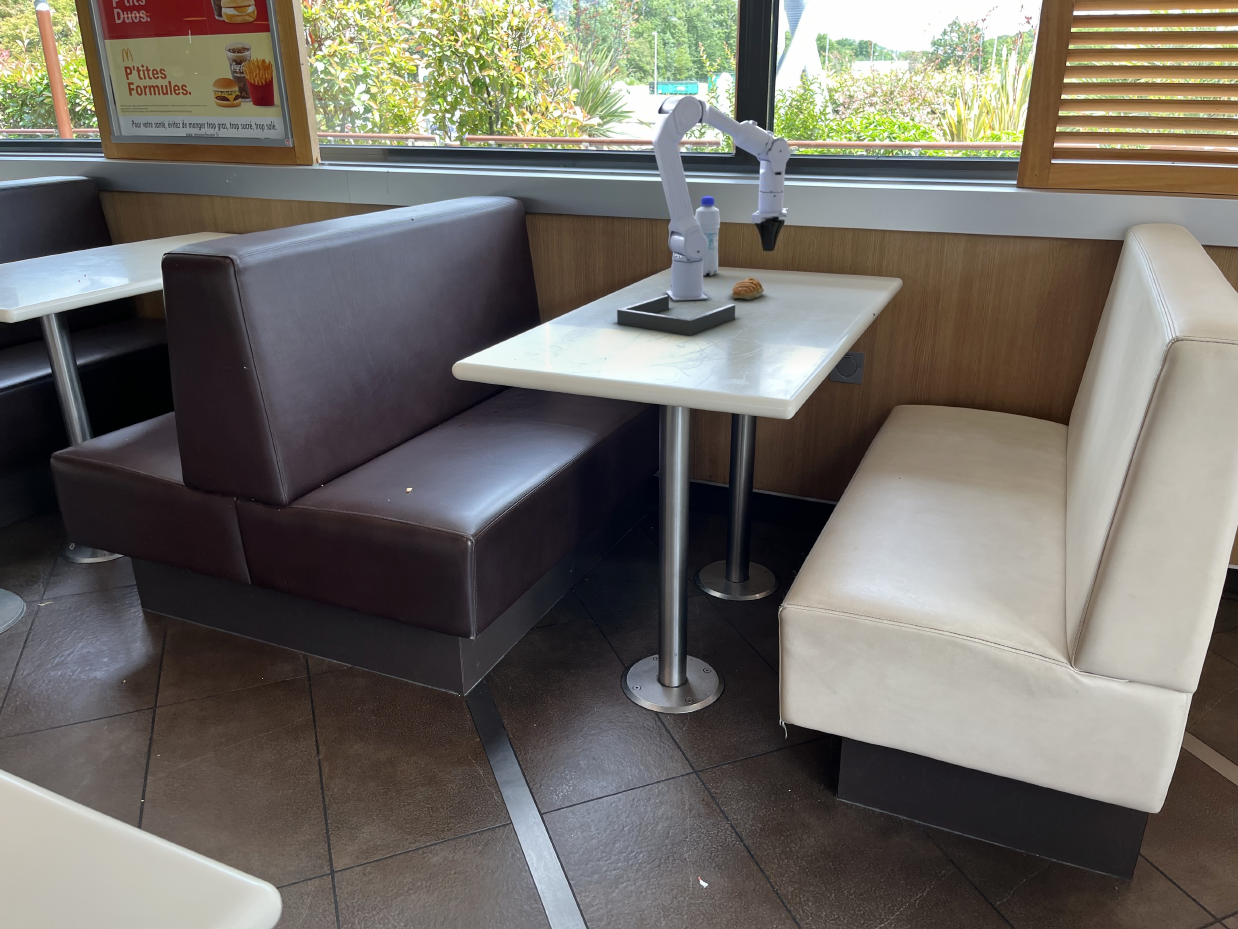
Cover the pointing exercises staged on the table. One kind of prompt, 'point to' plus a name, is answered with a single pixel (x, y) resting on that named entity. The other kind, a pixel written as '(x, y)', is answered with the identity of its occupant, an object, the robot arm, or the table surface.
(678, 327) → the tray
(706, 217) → the bottle
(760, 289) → the pastry
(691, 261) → the robot arm
